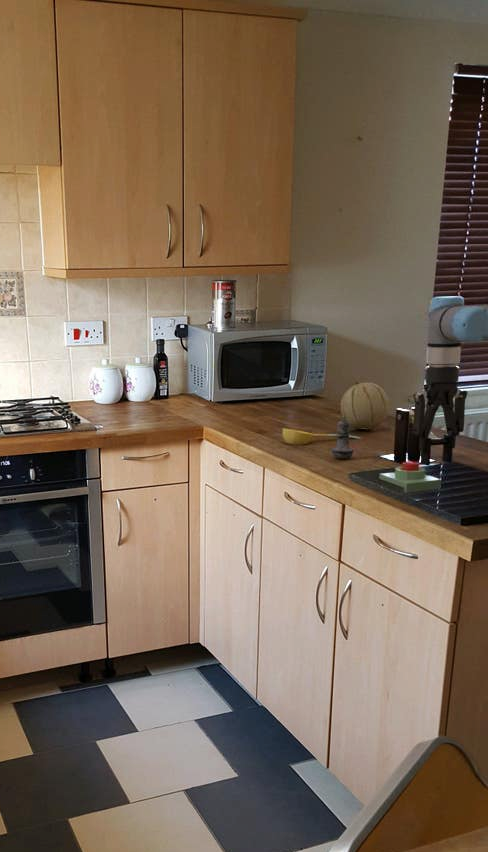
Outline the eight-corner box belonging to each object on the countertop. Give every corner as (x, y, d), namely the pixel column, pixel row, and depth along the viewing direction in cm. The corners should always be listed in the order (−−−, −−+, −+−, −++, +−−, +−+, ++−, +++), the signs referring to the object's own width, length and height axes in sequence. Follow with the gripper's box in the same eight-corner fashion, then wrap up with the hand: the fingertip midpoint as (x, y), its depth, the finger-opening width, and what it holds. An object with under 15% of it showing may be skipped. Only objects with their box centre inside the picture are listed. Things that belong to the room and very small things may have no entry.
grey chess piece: (330, 464, 225) (332, 418, 221) (330, 460, 230) (332, 414, 226) (354, 465, 224) (356, 418, 220) (353, 460, 229) (355, 414, 225)
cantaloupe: (389, 433, 266) (391, 383, 261) (340, 433, 269) (341, 384, 264) (386, 425, 280) (388, 378, 275) (339, 425, 283) (341, 378, 278)
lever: (447, 446, 212) (450, 438, 210) (428, 448, 210) (430, 440, 209) (414, 417, 223) (416, 408, 221) (395, 418, 221) (398, 410, 220)
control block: (440, 489, 196) (441, 471, 195) (406, 493, 194) (407, 475, 192) (412, 479, 206) (413, 462, 205) (378, 483, 204) (379, 466, 202)
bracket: (435, 466, 220) (439, 410, 216) (404, 469, 217) (408, 413, 213) (407, 457, 231) (411, 405, 226) (378, 460, 228) (381, 407, 224)
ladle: (274, 442, 252) (278, 422, 251) (354, 455, 261) (359, 436, 259) (287, 446, 244) (291, 425, 243) (369, 460, 252) (374, 440, 251)
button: (421, 471, 198) (422, 463, 197) (408, 472, 197) (408, 465, 196) (412, 468, 201) (412, 460, 200) (398, 469, 200) (399, 462, 199)
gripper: (465, 362, 211) (458, 457, 218) (399, 366, 206) (394, 464, 213) (486, 364, 204) (477, 462, 212) (418, 368, 199) (412, 469, 206)
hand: (436, 463), depth 212 cm, fingers closed on lever, 5 cm apart
